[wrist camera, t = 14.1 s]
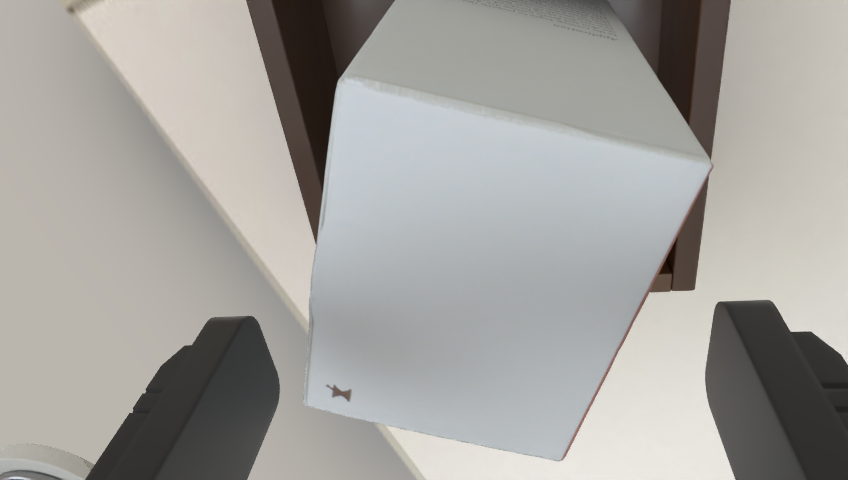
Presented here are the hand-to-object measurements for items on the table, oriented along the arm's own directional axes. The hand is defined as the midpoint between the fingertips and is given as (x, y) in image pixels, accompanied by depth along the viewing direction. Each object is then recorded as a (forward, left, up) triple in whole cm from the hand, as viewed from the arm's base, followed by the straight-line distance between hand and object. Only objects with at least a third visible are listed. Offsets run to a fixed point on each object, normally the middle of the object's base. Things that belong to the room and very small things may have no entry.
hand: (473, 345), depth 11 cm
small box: (0, 0, -14) cm, 14 cm away
